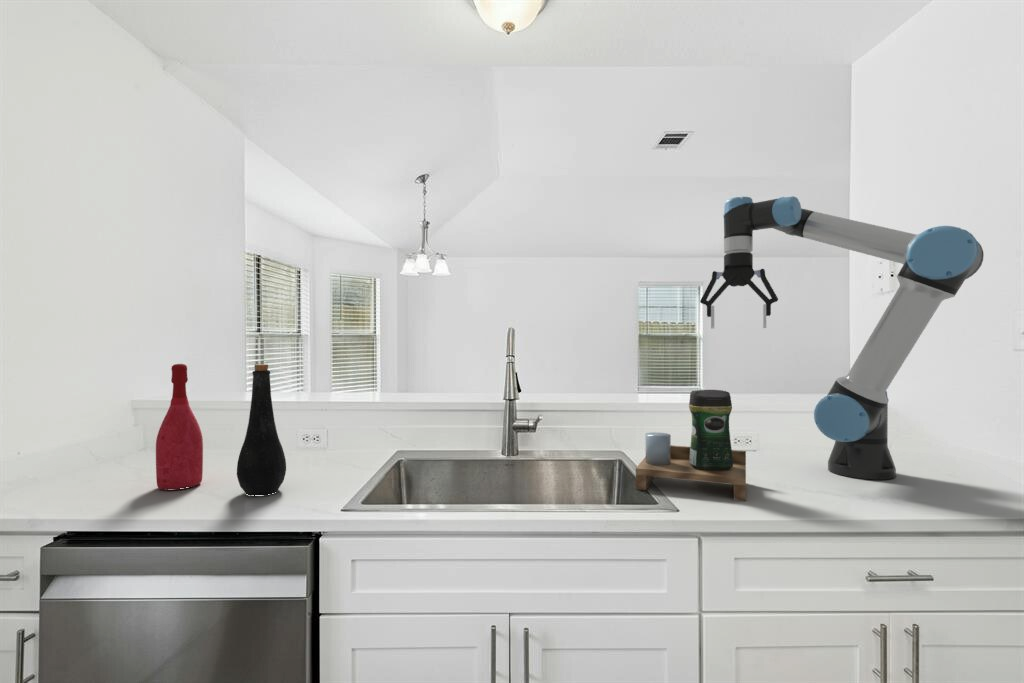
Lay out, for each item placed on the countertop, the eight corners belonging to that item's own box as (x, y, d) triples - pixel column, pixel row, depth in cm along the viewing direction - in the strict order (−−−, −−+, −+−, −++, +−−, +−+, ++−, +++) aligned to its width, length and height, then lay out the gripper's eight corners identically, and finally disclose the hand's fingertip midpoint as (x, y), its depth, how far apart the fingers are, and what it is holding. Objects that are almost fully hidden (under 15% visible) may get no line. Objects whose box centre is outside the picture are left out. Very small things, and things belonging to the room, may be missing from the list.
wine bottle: (212, 483, 134) (211, 363, 134) (172, 493, 125) (172, 365, 125) (186, 479, 138) (185, 362, 138) (146, 489, 129) (145, 364, 129)
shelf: (745, 483, 133) (745, 450, 133) (745, 501, 118) (745, 464, 118) (647, 473, 143) (647, 443, 143) (635, 489, 128) (635, 455, 128)
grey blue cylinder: (672, 461, 135) (671, 433, 135) (668, 466, 130) (668, 437, 130) (647, 459, 138) (647, 431, 138) (643, 464, 132) (643, 435, 132)
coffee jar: (726, 463, 132) (725, 388, 132) (736, 471, 125) (736, 391, 124) (685, 463, 133) (685, 388, 133) (693, 470, 125) (693, 391, 125)
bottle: (296, 488, 129) (295, 363, 129) (262, 501, 119) (261, 366, 119) (261, 484, 133) (260, 363, 133) (225, 496, 123) (225, 365, 123)
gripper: (786, 252, 151) (786, 327, 151) (693, 258, 161) (693, 328, 161) (788, 248, 144) (788, 327, 144) (690, 254, 154) (690, 328, 154)
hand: (738, 328), depth 153 cm, fingers open, 13 cm apart
